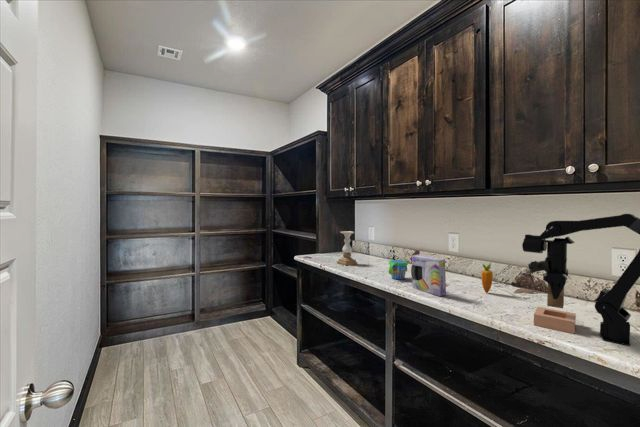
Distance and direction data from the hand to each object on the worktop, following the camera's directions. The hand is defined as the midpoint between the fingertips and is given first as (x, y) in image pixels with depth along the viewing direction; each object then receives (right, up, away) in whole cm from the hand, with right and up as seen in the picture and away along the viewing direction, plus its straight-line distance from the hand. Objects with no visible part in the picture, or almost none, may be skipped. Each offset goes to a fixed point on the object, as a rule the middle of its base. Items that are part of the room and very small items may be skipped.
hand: (555, 297), depth 113 cm
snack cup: (-40, -8, +71) cm, 81 cm away
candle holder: (-66, -7, +115) cm, 133 cm away
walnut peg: (0, -3, 0) cm, 3 cm away
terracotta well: (0, -10, 0) cm, 10 cm away
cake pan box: (-32, -9, +43) cm, 54 cm away
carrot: (-3, -9, +41) cm, 42 cm away
